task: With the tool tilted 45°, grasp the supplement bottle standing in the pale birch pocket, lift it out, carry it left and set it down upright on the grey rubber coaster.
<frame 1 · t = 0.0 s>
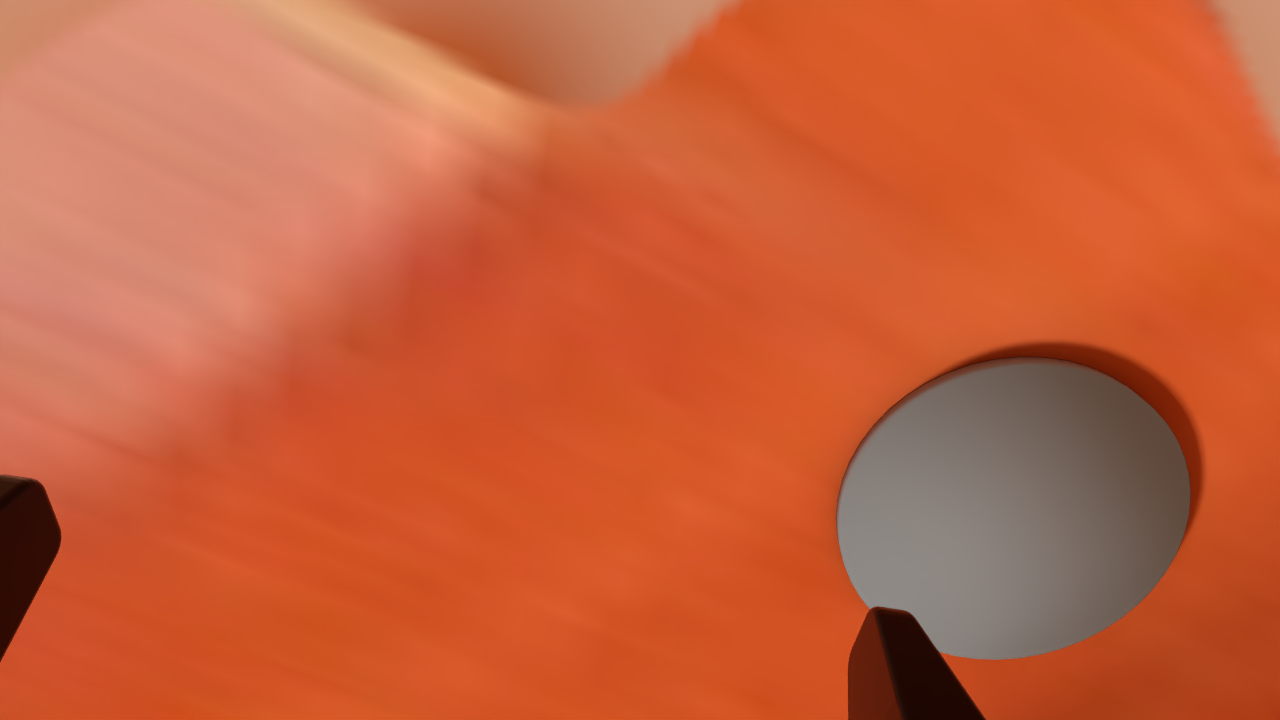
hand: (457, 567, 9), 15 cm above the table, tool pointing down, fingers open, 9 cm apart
coaster: (1004, 511, 26), on the table
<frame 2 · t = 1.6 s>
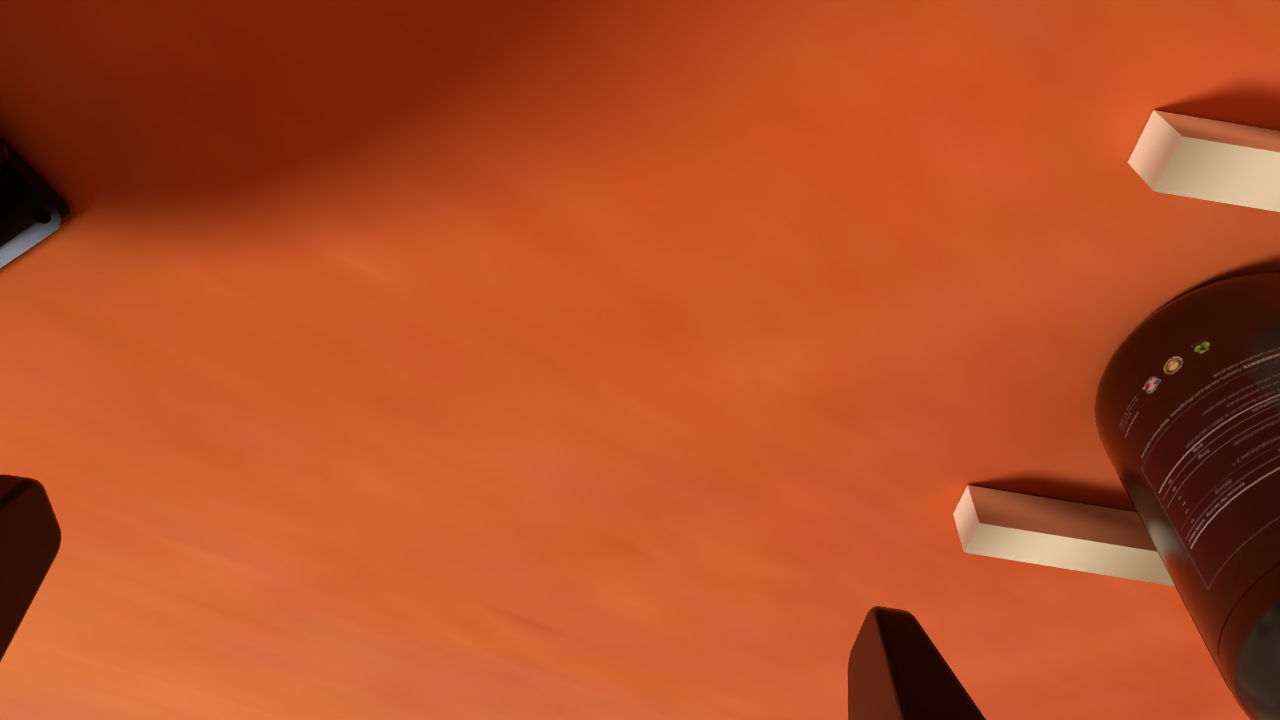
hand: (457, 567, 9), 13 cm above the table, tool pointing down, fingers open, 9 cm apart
supplement bottle: (1225, 371, 23), on the table
pocket: (1229, 376, 22), on the table
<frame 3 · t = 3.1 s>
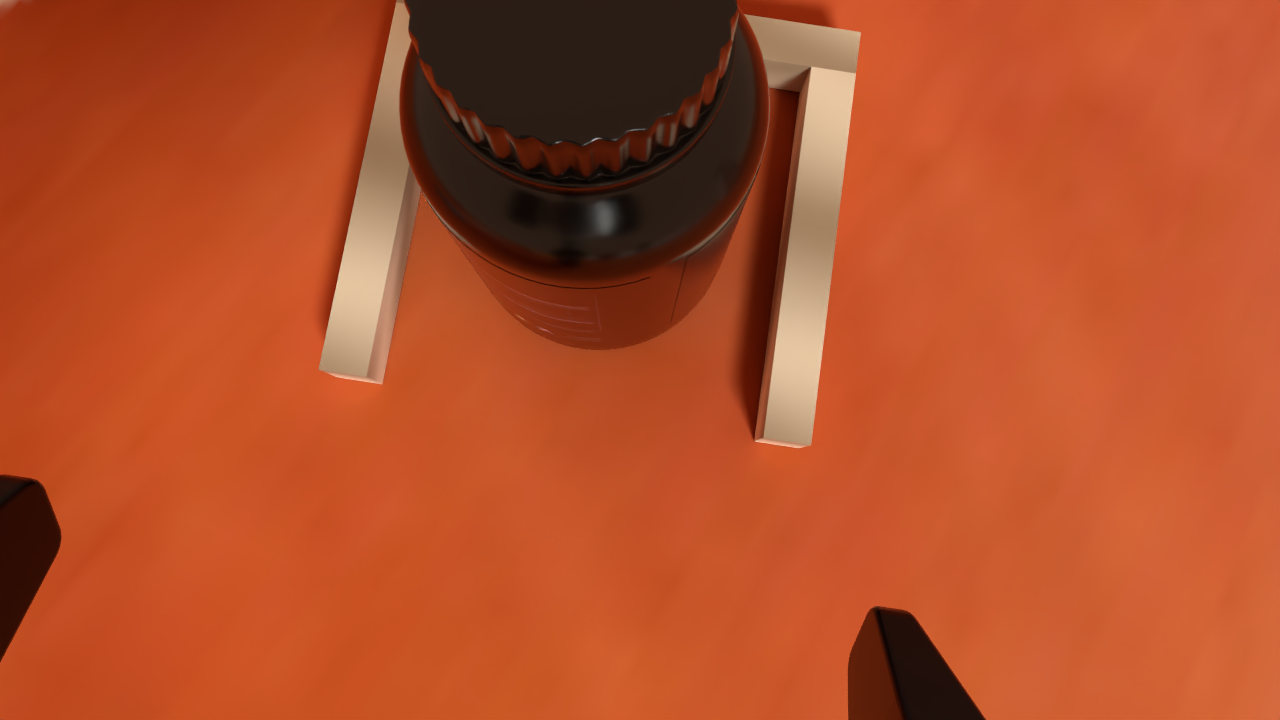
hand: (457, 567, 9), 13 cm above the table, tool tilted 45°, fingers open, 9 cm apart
supplement bottle: (598, 235, 24), on the table
pocket: (597, 233, 24), on the table
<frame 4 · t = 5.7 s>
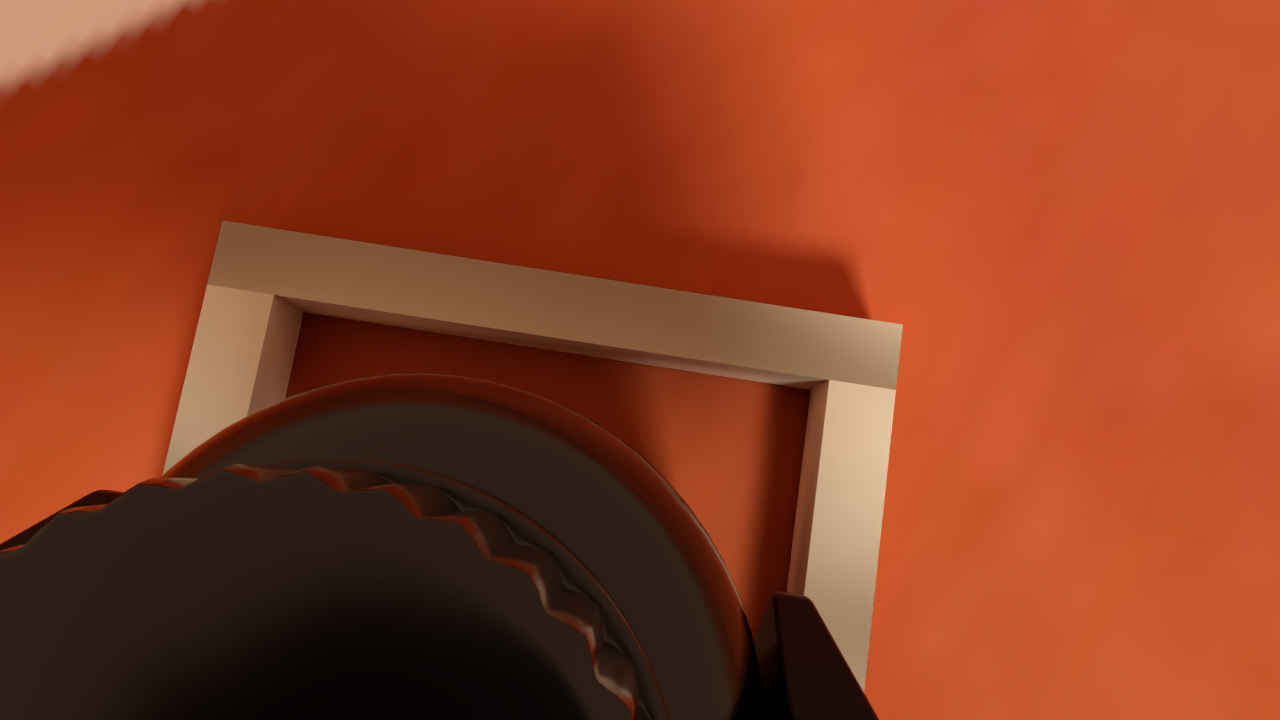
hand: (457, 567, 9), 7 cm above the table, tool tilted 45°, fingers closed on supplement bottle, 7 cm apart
supplement bottle: (514, 611, 16), on the table, touching gripper
pocket: (513, 613, 16), on the table
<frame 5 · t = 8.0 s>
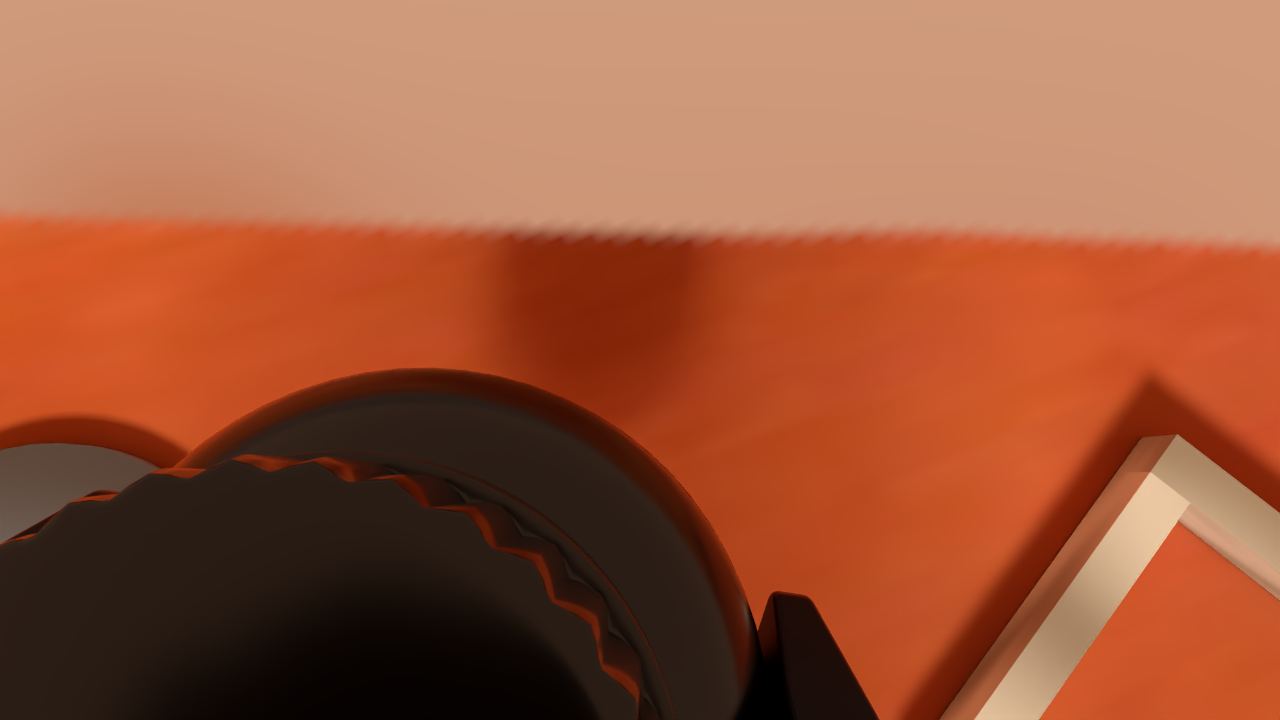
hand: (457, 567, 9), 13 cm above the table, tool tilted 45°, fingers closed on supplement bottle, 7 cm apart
supplement bottle: (520, 607, 17), point 6 cm above the table, touching gripper
coaster: (50, 645, 22), on the table
when the fingers open (8 cm above the table, at t = 10.2 s): supplement bottle stays where it is, resting on coaster.
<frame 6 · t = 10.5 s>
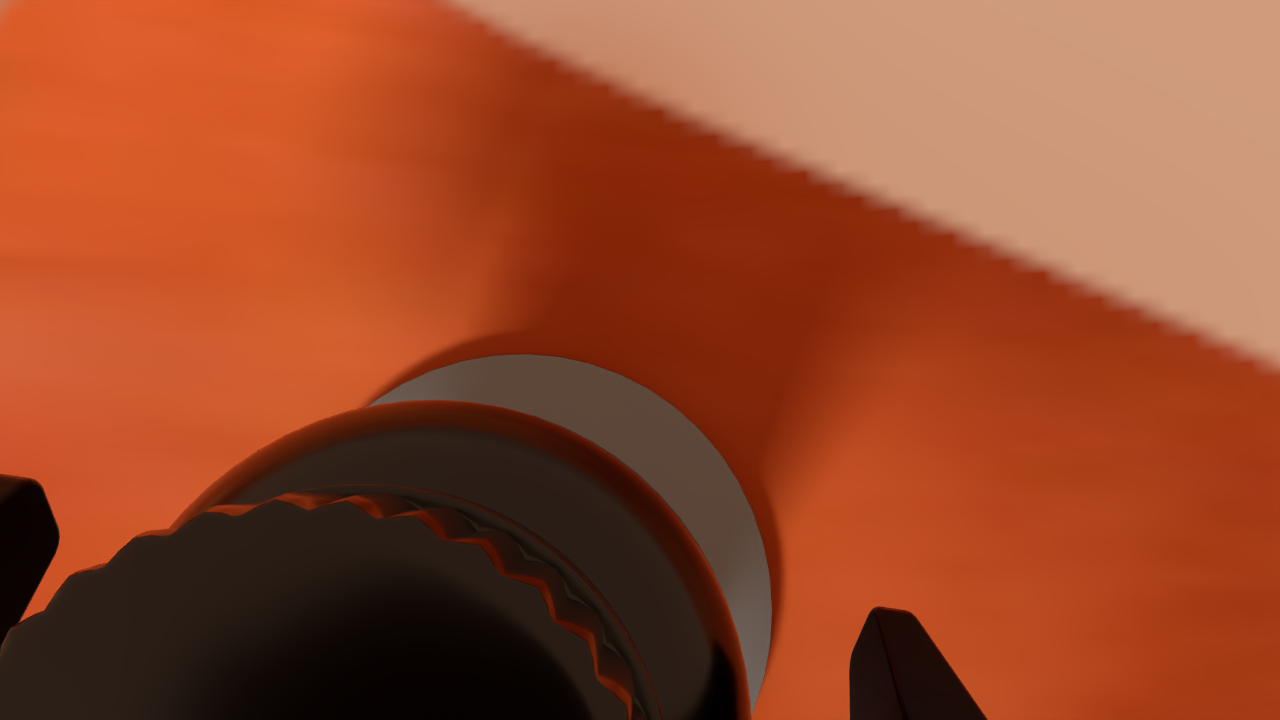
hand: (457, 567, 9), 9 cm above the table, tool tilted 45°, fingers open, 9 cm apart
supplement bottle: (519, 615, 17), resting on coaster
coaster: (520, 602, 18), on the table
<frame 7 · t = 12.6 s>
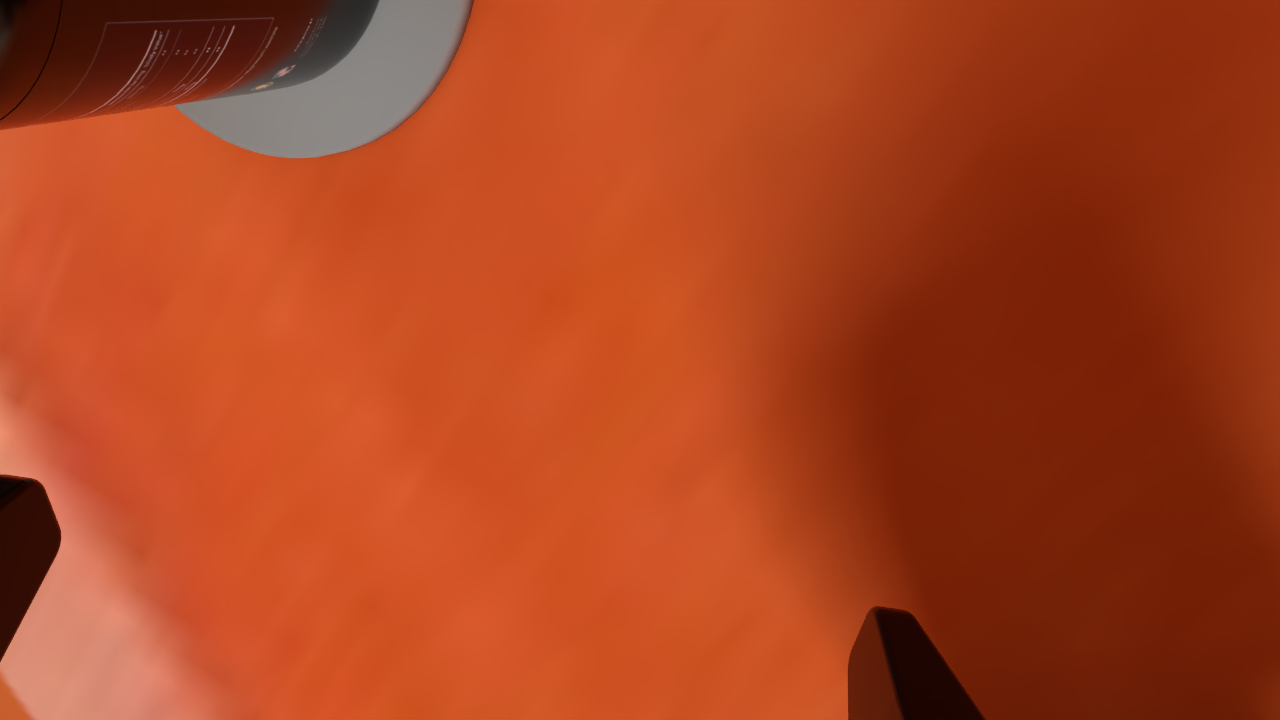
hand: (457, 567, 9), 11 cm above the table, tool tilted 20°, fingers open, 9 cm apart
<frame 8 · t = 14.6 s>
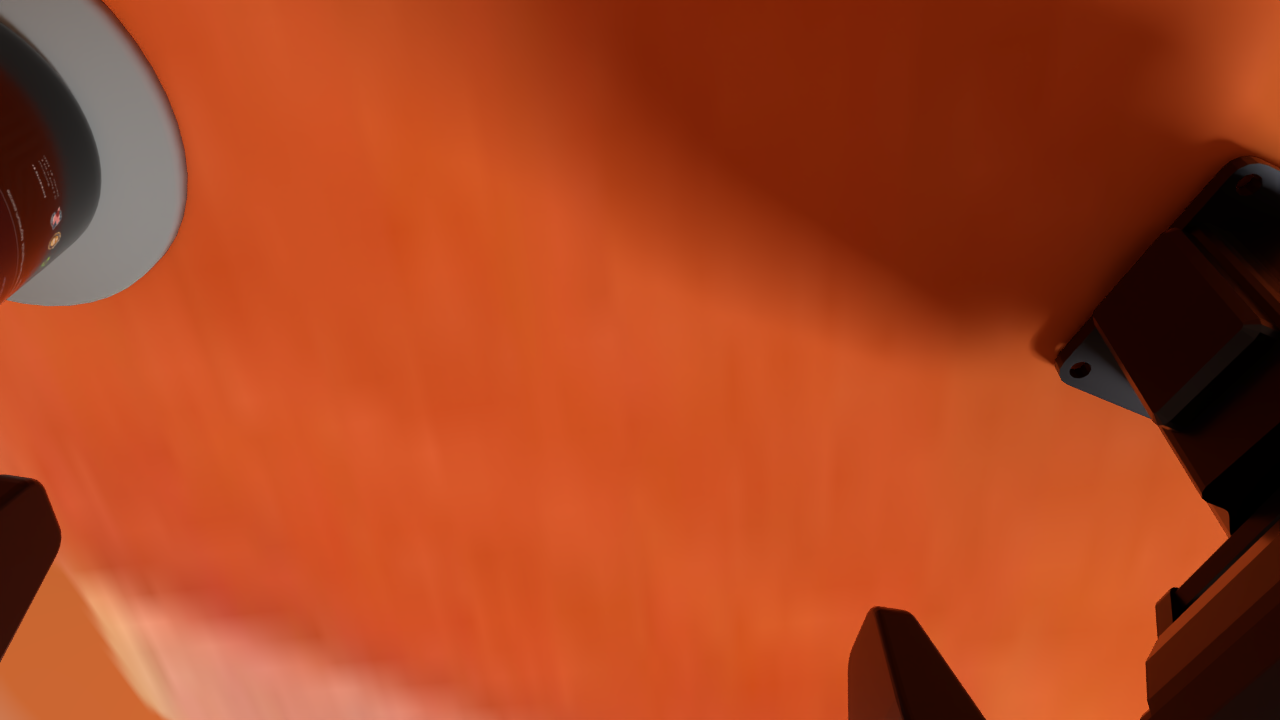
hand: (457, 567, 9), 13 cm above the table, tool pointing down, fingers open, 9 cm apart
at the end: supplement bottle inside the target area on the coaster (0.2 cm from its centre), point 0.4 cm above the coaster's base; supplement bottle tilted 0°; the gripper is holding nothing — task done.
